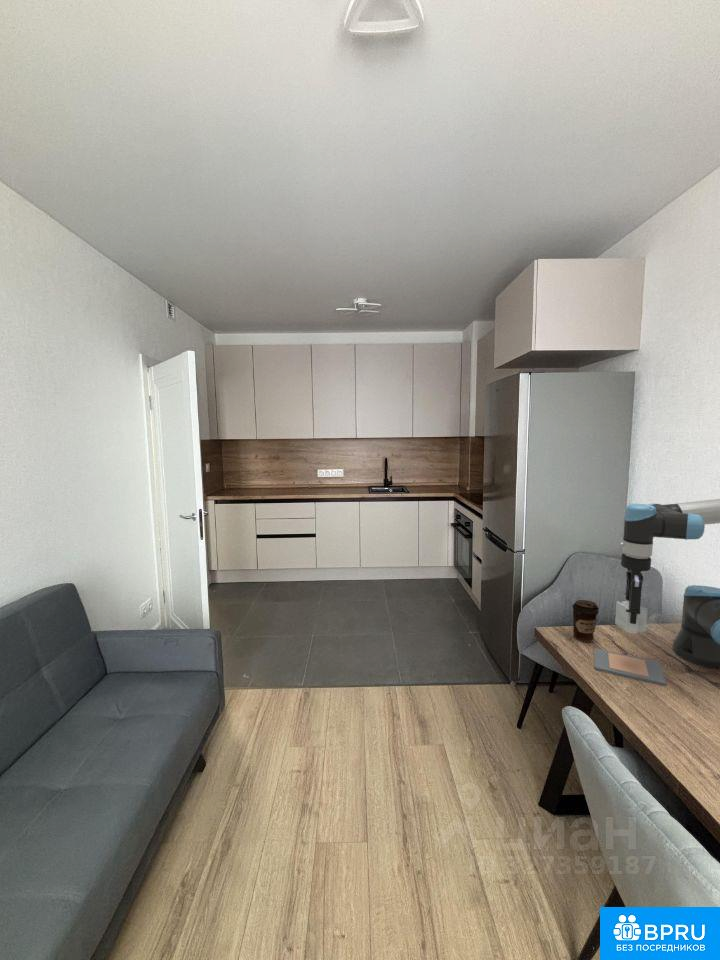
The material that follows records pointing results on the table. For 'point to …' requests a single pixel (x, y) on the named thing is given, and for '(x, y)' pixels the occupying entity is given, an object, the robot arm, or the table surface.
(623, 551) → the robot arm
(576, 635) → the coffee cup
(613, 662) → the card
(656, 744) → the table surface
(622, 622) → the skincare box
